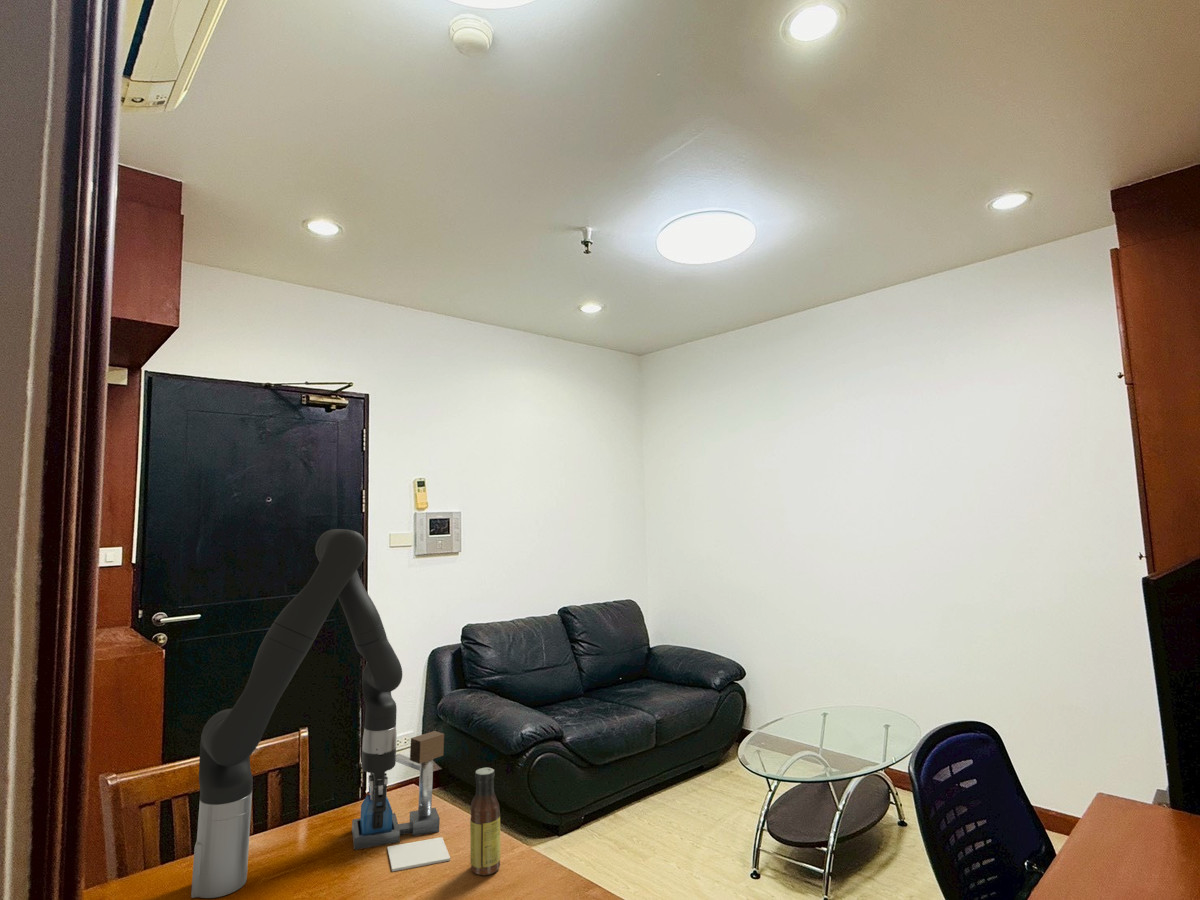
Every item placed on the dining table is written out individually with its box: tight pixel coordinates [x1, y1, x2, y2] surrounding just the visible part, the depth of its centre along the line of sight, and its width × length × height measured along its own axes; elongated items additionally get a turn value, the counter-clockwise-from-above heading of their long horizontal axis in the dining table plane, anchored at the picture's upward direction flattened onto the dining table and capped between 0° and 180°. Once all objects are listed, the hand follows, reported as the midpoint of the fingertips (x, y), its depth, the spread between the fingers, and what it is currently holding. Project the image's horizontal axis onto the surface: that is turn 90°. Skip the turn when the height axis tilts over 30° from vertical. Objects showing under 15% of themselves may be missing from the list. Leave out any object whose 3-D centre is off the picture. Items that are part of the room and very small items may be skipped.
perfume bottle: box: [359, 794, 393, 835], centre depth 153 cm, size 6×6×12 cm
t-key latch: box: [396, 730, 445, 816], centre depth 161 cm, size 14×7×18 cm, turn 53°
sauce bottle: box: [469, 767, 502, 876], centre depth 140 cm, size 7×6×20 cm
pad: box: [387, 836, 451, 873], centre depth 144 cm, size 12×10×1 cm
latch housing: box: [351, 807, 441, 851], centre depth 154 cm, size 19×10×3 cm, turn 113°
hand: (376, 821), depth 152 cm, fingers closed on perfume bottle, 6 cm apart
